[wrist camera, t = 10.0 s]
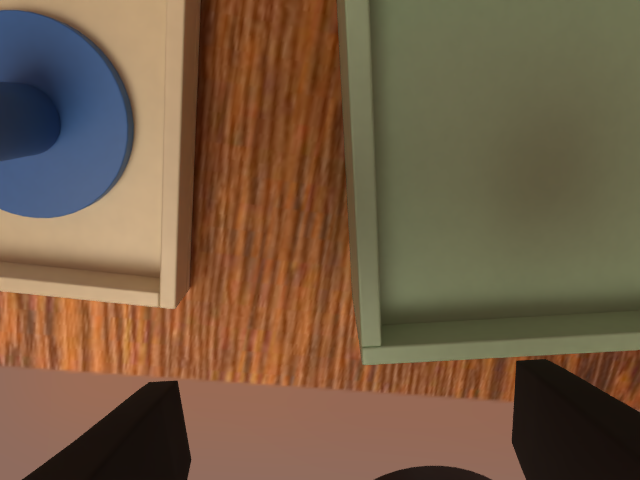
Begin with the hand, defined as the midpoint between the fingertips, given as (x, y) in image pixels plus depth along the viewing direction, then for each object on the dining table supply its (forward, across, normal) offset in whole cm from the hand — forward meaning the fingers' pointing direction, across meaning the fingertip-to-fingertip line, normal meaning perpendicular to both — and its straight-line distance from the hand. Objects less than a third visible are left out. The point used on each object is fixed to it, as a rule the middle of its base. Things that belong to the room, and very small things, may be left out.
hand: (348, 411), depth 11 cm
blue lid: (+9, +10, -6) cm, 15 cm away
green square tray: (+10, -6, -4) cm, 12 cm away
